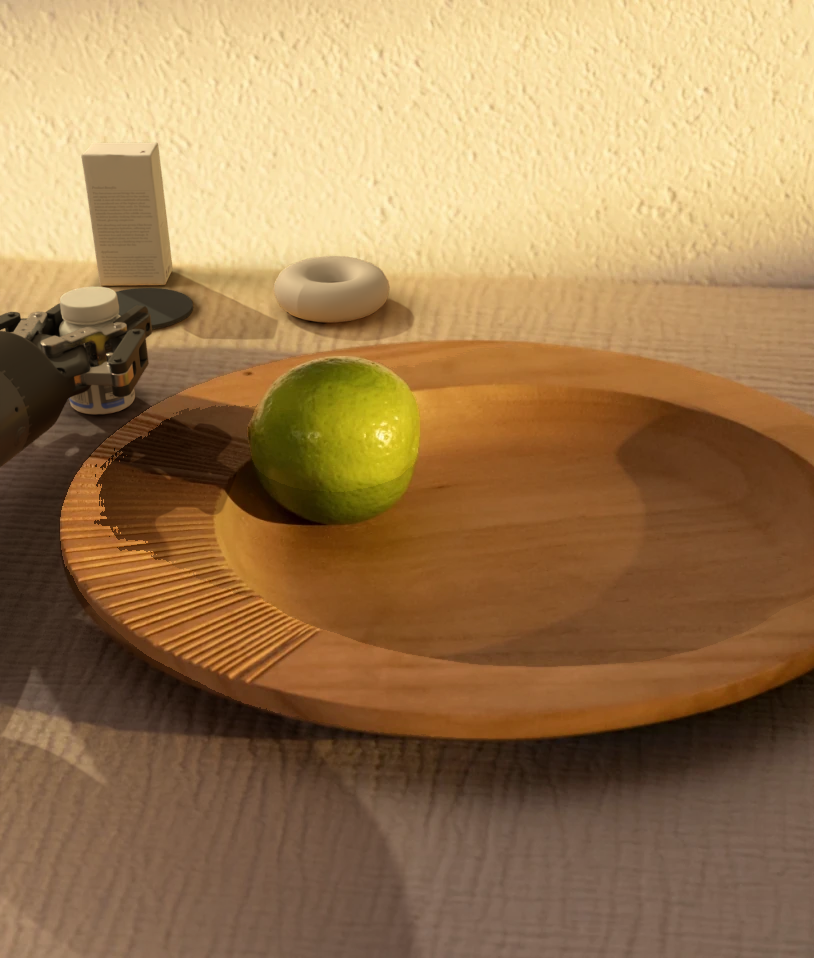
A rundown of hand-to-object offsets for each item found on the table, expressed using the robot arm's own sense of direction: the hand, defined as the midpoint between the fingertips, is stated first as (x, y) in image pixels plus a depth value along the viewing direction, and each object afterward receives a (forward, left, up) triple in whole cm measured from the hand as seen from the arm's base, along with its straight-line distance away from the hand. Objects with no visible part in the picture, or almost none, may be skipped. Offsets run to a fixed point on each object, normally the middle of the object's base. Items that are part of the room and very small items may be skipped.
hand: (111, 313), depth 97 cm
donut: (+5, +22, -6) cm, 23 cm away
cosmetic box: (-14, +19, -6) cm, 24 cm away
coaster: (-9, +13, -6) cm, 17 cm away
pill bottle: (0, -3, -6) cm, 7 cm away
